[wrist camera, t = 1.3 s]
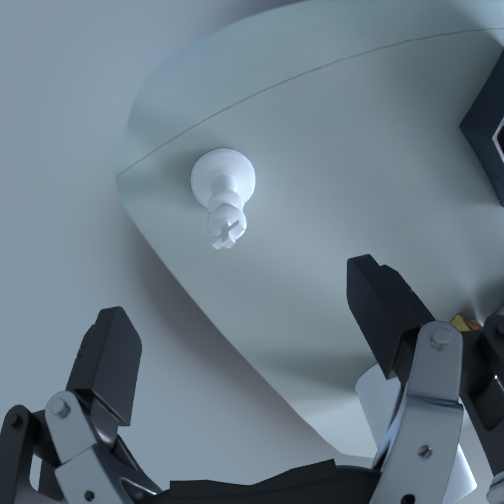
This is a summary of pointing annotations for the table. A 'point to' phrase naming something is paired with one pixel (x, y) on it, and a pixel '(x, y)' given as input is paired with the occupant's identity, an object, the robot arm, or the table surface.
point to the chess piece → (224, 192)
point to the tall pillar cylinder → (378, 415)
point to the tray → (489, 128)
